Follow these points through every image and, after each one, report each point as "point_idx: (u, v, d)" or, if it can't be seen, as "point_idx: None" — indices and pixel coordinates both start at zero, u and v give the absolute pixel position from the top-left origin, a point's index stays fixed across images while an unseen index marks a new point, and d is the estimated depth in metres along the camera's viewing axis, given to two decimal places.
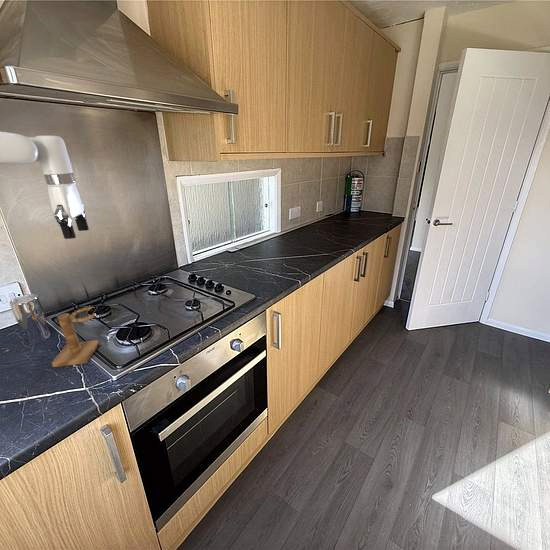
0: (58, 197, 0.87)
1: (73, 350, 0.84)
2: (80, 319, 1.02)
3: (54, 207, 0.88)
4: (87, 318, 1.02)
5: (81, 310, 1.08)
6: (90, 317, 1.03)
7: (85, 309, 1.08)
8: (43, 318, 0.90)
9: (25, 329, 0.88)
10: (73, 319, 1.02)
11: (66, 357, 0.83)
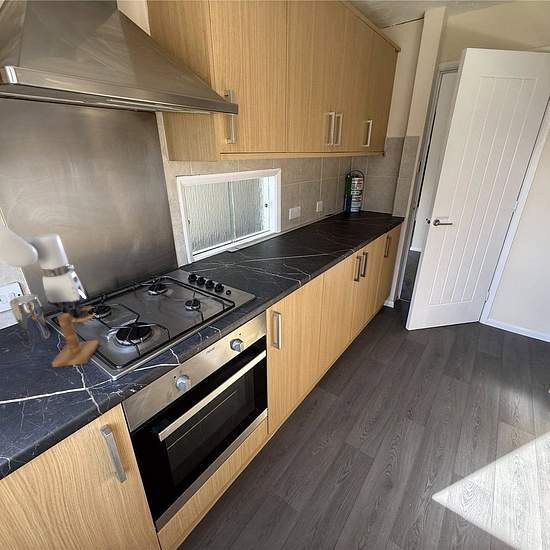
0: None
1: (73, 350, 0.84)
2: (80, 319, 1.02)
3: None
4: (87, 318, 1.02)
5: (81, 310, 1.08)
6: (90, 317, 1.03)
7: (85, 309, 1.08)
8: (43, 318, 0.90)
9: (25, 329, 0.88)
10: (73, 319, 1.02)
11: (66, 357, 0.83)
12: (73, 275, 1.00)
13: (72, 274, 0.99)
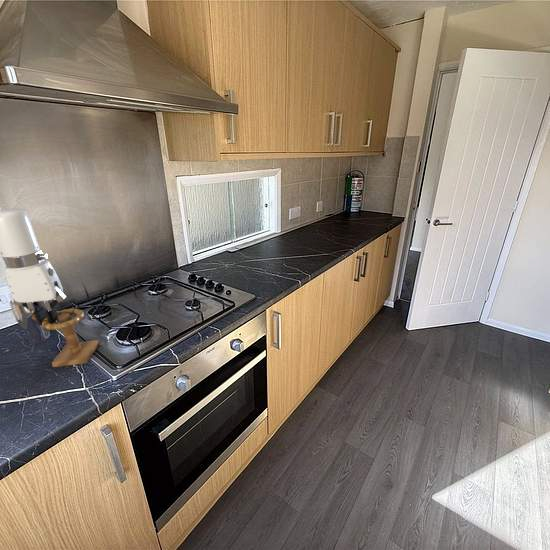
0: None
1: (73, 350, 0.84)
2: (56, 325, 0.77)
3: None
4: (66, 324, 0.78)
5: (59, 313, 0.83)
6: (70, 322, 0.78)
7: (65, 312, 0.84)
8: None
9: (25, 329, 0.88)
10: (47, 325, 0.77)
11: (66, 357, 0.83)
12: (47, 267, 0.75)
13: (46, 265, 0.75)
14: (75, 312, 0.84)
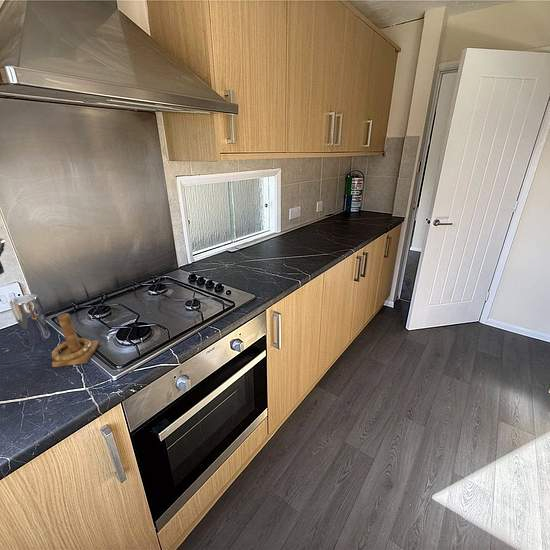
0: None
1: (73, 350, 0.84)
2: (65, 356, 0.81)
3: None
4: (74, 355, 0.82)
5: None
6: (78, 353, 0.82)
7: None
8: (43, 318, 0.90)
9: (25, 329, 0.88)
10: (57, 356, 0.81)
11: None
12: None
13: None
14: (82, 341, 0.88)
